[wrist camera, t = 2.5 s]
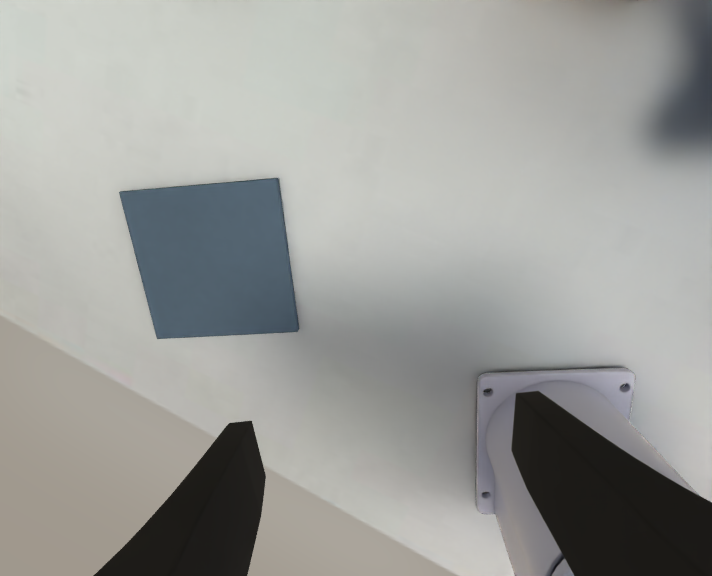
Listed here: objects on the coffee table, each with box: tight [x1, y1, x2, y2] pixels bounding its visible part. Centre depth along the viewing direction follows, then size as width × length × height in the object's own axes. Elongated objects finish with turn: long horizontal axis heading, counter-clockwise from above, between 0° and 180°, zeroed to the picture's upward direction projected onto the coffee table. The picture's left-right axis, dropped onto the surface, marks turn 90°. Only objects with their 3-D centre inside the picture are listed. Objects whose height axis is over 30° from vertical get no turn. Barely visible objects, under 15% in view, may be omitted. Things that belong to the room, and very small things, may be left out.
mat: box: [119, 178, 299, 339], centre depth 20 cm, size 8×8×1 cm
